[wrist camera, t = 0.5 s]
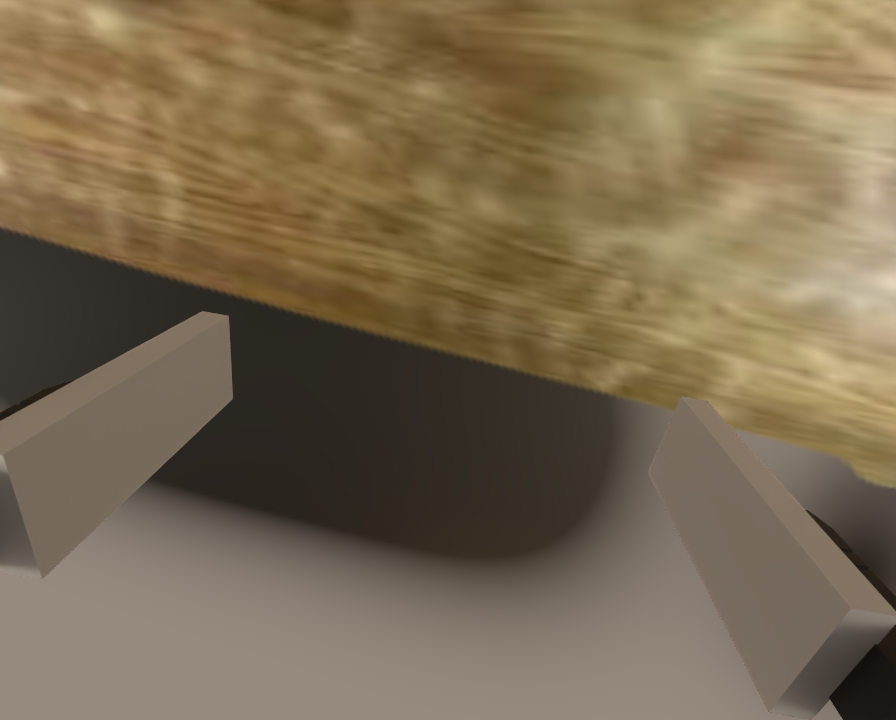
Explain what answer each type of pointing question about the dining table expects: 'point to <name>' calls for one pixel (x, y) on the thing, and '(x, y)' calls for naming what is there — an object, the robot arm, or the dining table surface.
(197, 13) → the dining table surface
